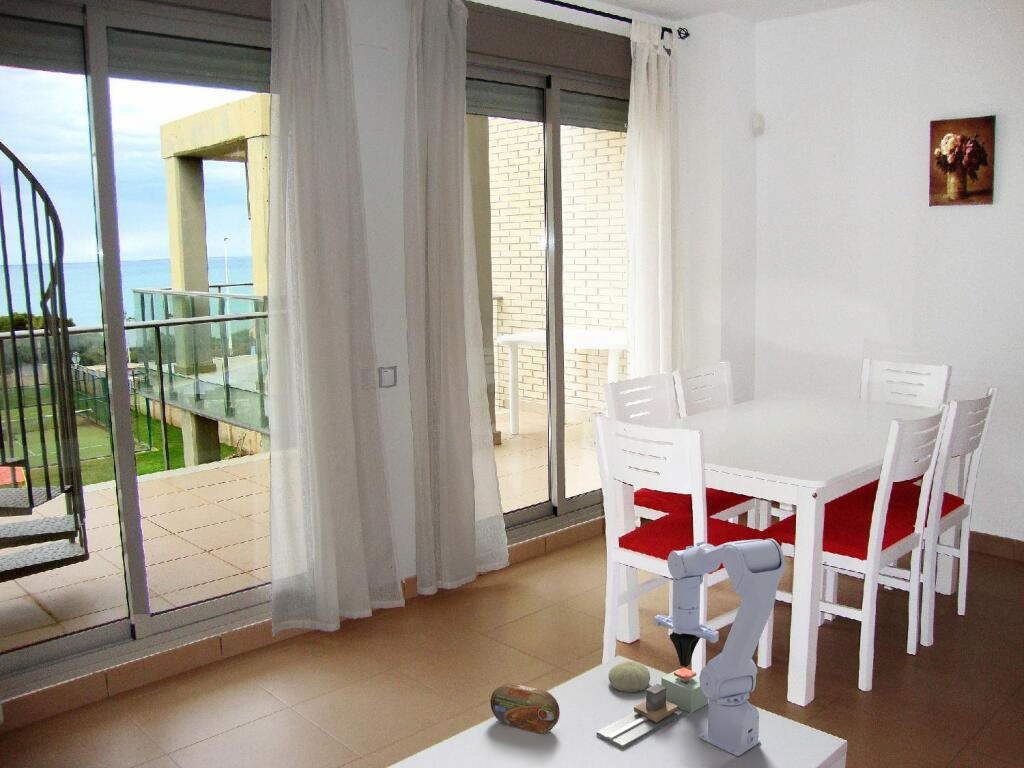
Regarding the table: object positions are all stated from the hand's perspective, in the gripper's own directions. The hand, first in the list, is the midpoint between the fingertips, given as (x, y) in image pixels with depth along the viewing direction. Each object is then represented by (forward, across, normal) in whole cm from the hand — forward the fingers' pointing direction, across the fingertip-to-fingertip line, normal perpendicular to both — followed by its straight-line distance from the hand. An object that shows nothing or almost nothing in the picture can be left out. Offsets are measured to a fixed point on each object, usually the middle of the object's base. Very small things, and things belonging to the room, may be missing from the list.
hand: (685, 664), depth 195 cm
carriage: (+7, -1, -9) cm, 12 cm away
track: (+8, -2, -14) cm, 17 cm away
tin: (+9, -20, -29) cm, 37 cm away
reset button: (+4, 0, 0) cm, 4 cm away
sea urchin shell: (+9, -13, -1) cm, 16 cm away
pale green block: (+8, 0, 0) cm, 8 cm away
